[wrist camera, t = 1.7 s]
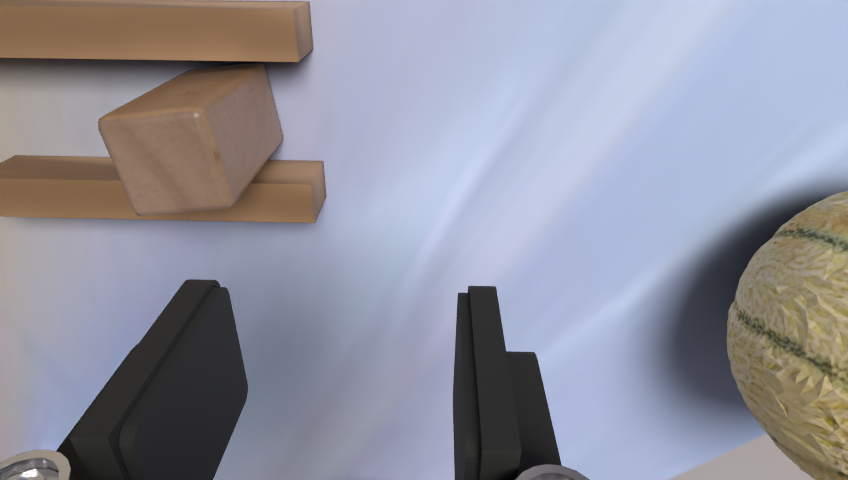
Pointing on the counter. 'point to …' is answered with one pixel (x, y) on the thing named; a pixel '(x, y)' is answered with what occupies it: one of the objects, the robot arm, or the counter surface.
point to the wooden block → (194, 139)
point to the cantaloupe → (798, 338)
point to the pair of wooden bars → (154, 40)
